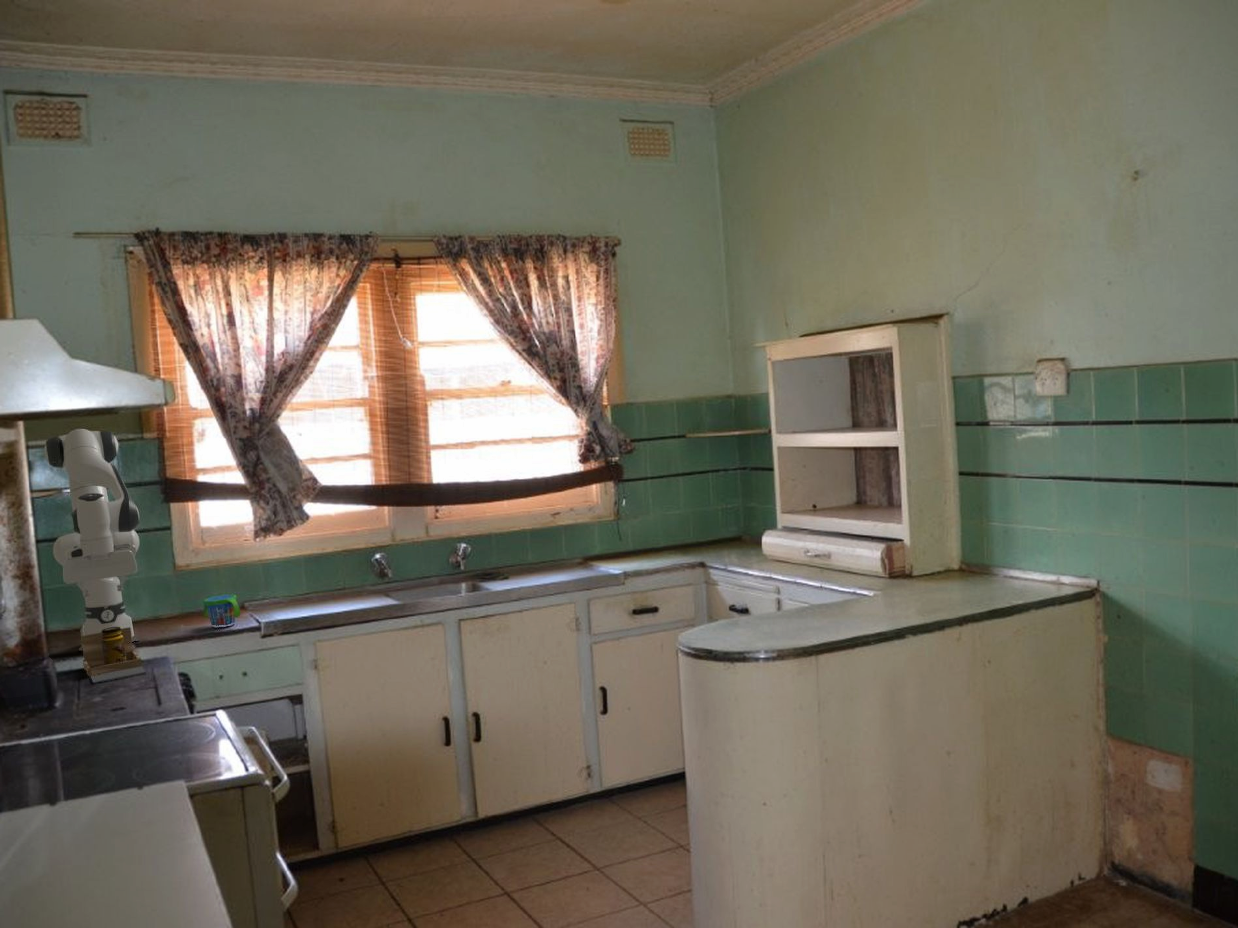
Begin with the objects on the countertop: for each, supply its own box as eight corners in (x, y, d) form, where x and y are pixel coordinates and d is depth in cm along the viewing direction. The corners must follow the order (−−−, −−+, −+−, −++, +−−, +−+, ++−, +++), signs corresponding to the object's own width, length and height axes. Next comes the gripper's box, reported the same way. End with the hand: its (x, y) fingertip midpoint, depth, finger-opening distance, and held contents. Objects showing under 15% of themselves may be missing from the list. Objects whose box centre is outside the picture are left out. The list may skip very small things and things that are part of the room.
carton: (83, 668, 336) (79, 635, 335) (135, 658, 343) (131, 626, 343) (88, 677, 323) (84, 643, 322) (142, 666, 330) (138, 634, 329)
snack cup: (196, 628, 383) (193, 599, 382) (223, 621, 392) (219, 593, 391) (224, 631, 374) (220, 601, 373) (250, 624, 383) (247, 595, 382)
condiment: (130, 666, 332) (125, 627, 331) (99, 672, 328) (94, 633, 327) (125, 662, 338) (120, 624, 338) (95, 668, 334) (90, 629, 333)
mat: (90, 678, 321) (90, 676, 321) (142, 668, 328) (141, 666, 328) (93, 684, 314) (93, 681, 314) (146, 673, 321) (146, 671, 321)
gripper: (133, 541, 338) (139, 586, 339) (59, 552, 328) (65, 598, 329) (136, 543, 333) (142, 588, 334) (60, 554, 323) (67, 600, 324)
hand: (103, 593), depth 331 cm, fingers open, 8 cm apart
